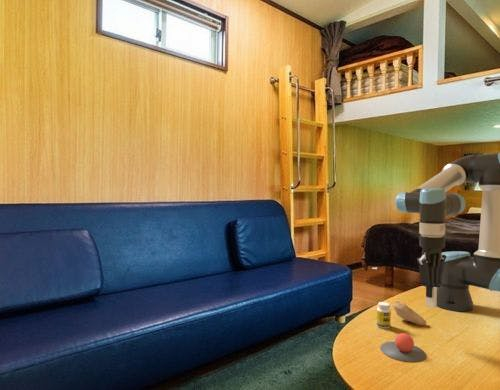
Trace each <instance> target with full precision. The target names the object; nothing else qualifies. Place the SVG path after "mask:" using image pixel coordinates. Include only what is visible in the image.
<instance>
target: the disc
mask: <svg viewBox="0 0 500 390" xmlns="http://www.w3.org/2000/svg"><path fill="white" fill-rule="evenodd" d="M379 348H380V350H381V352H382V353H383V354H384V355H385V356H387V357H389V358H391V359H394V360H396V361H400V362H404V363H405V362H407V363H419V362H420V363H421V362H422V361H425V360H426V359H427V354H426V352H425V351H424V349H422V348H421V347H418V345H414V347H413V349H412V350H411V351H410V352H402V351H400V350H399V349H398V348H397V347H396V345H395V341H387V342H383V343H382V344H381V345H380V347H379Z"/></svg>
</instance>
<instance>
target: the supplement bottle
mask: <svg viewBox="0 0 500 390" xmlns="http://www.w3.org/2000/svg"><path fill="white" fill-rule="evenodd" d="M390 308H391V305H390V303H389V302H386V301H379V302H378V304H377V308H376V327H377V328H380V329H385V330H387V329H390V328H391V316H392V315H391V313H392V312H391V309H390Z"/></svg>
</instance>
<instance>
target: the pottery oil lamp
mask: <svg viewBox="0 0 500 390" xmlns="http://www.w3.org/2000/svg"><path fill="white" fill-rule="evenodd" d="M392 306H393V309H394V311H395V314H396V316H397V317H400V318H401V319H403V320H404V321H406V322H408V321H409V322H410V323H413V324H416V325H417V326H426V324H427V321H426V319H424V318H423V316H421V315H420V314H419V313H418V312H417V311H414V309H412V307H409V306H408V305H407V304H406V303H404V302H401V301H397V300H394V303H392Z"/></svg>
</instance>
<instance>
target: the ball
mask: <svg viewBox="0 0 500 390" xmlns="http://www.w3.org/2000/svg"><path fill="white" fill-rule="evenodd" d="M394 342H395V345H396V347H397V348H398V349H399V350H400V351H402V352H410V351H411V350H412V349H413V347H414V346H415V341H414V339H413V337H412V336H411V335H410V334H408V333H405V332H403V333H401V332H400V333H398V334H397V335H396V336H395V338H394Z"/></svg>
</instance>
